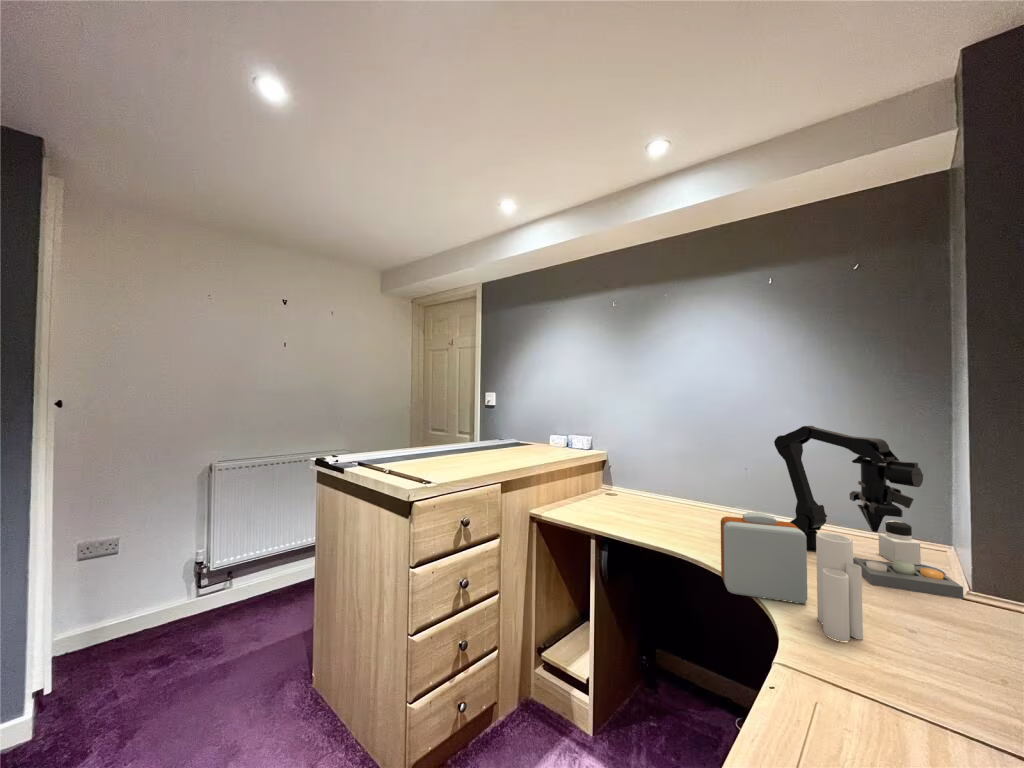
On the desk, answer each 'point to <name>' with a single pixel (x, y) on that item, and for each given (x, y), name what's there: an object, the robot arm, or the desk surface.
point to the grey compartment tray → (910, 580)
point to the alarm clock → (764, 557)
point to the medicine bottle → (899, 543)
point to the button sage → (903, 567)
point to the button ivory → (876, 566)
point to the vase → (838, 587)
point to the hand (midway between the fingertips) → (874, 531)
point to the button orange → (931, 573)
